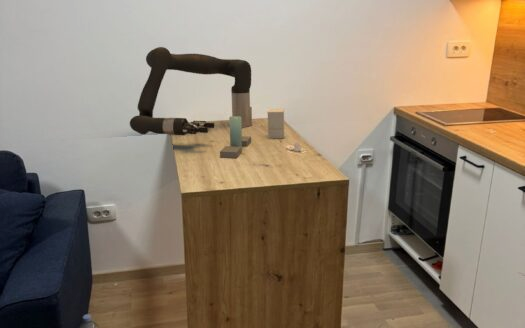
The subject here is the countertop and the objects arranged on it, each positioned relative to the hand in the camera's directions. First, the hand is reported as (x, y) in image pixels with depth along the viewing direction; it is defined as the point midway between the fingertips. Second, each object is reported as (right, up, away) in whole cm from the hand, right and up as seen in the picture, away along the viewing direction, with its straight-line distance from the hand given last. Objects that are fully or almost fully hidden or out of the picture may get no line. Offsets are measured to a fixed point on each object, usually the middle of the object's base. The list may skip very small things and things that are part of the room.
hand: (211, 127), depth 207 cm
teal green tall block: (+11, -9, 0) cm, 14 cm away
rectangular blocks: (+11, -9, 0) cm, 14 cm away
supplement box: (+28, -3, +20) cm, 35 cm away
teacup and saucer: (+37, -10, 0) cm, 39 cm away
